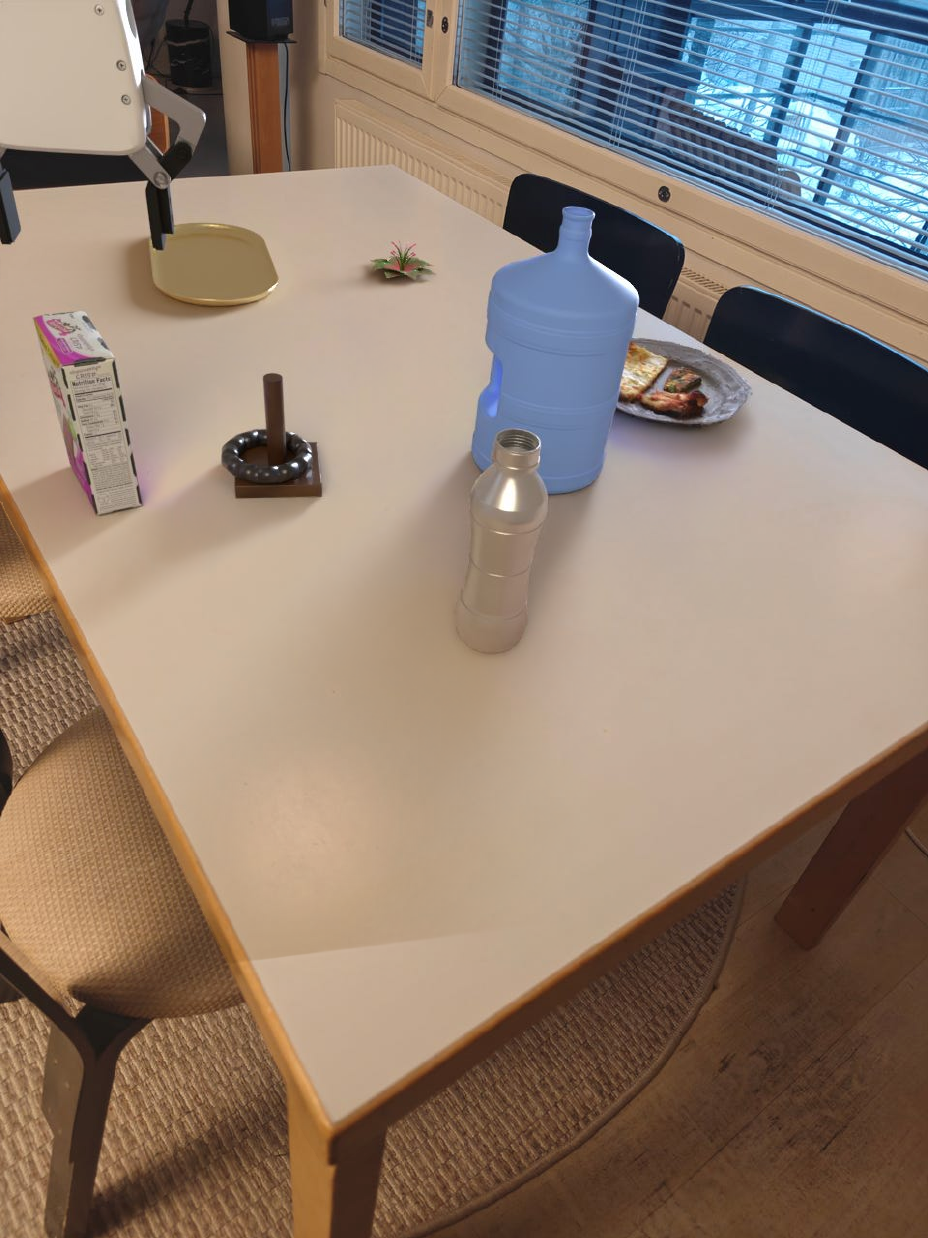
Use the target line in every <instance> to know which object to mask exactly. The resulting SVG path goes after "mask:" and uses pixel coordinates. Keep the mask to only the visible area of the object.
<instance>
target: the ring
mask: <svg viewBox="0 0 928 1238" xmlns="http://www.w3.org/2000/svg"><path fill="white" fill-rule="evenodd" d="M285 435H286V448H287V449H290V450H291V451H292V452H294V453H295V454H296V457H295V458H294V459H293V460H292V461H290V462H287V463H284V464H281V465H278V466H256V465H253V464H249V463H245V462H243V461H242V460H241V459H240V458H239V455H240V454H241V453H242V452H243V451H244V450H246V449H250V448H253V447H256V446H267V438H266V428H256V429H251V430H249V431H248V430H247V431H245V432H241V433H238V434H235V435H234V436H233V437H232V438H230V439H229V440H228V441H227V442H225V443H224V445H223V446H221V458H220V459H221V460H220V462H221V465H222V467H223V468H224V469H225V470H226V471H228V472H229V473H230V475H232V476H233V477H234V478H235V477H236V478H239V479H242V480H246V481H249V482H253V483H257V484H265V483H282V482H285V481H288V480H291V479H294V478H297V477H300V476H301V475H302V474H303V473H304V472H305V471H306V470H307V469H308V468H309V467H310V466H311V465H312V463H313V456H312V448H311V446H310V445H309V444H308V443H307V442H308V441H306V440H305V439H304V438H302V437H301V436H300V435H299V434H296V433H293V432H290V431H286V430H285Z"/></svg>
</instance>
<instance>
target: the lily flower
mask: <svg viewBox="0 0 928 1238" xmlns="http://www.w3.org/2000/svg"><path fill="white" fill-rule="evenodd" d="M390 243H391V244H393V245H394V247H395V248H396V249H397V252H398V253H397V252H396V251H395V250H392V251H390V254H391V255H393V256H388V257H389V258H391V259H390V260H389V261H387V258H386V259H385V258H376V259H369V261H370V262H372V263H374V266H372V268H371V269H370V271H374V270H380V269H385V270H383V273H384V275H385V276H386V277H385V278H386V279H390V278H393V277H399V276H405V275H406V276H407V277H409V278H411V279H412V280H414V281H416V279H417V276H418V275H429V276H437V274H436V273H435V272H433V270H431V269H430V268H424V267H426V266H427V267H434V265H433V264H431V263H428V262H427V261H425V260H422V259H420V258H418V257H416V255H417V254H416V253H415V252H413V251H412V252H411V253H410V254H409V255H408V253H409V251H410V250H411V249H413V247H415V246H416V245H417V243H414V244H412V245H410V246H409V247H407V246H408V244H409V243H410V240H407V244H406V246H405V249H404V251H403V248H402V244H401V241H400V240H398V243H399V245H400V246H398V245H397V244H395V242H394V241H391V242H390ZM399 256H400V257H399ZM406 259H407V260H406ZM384 263H385V264H384ZM420 266H421V267H420ZM388 268H389V269H388ZM415 270H416V271H415ZM405 272H406V273H405Z"/></svg>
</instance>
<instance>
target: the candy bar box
mask: <svg viewBox="0 0 928 1238" xmlns="http://www.w3.org/2000/svg"><path fill="white" fill-rule="evenodd" d="M32 321H33V323H34V327H35V331H36V335H37V339H38V344H39V348H40V352H41V355H42V361H43V363H44V368H45V372H46V375H47V379H48V383H49V387H50V391H51V395H52V399H53V403H54V407H55V410H56V411H55V412H56V414H57V419H58V422H59V426H60V430H61V434H62V438H63V442H64V446H65V448H66V449H65V450H66V455H67V457H68V463H69V465H70V467H71V469H72V470H73V473H74V475H75V477H76V479H77V480H78V483H79V484H80V486H81V488H82V490H83V492H84V494H85V496H86V498H87V500H88V502H89V504H90V505H91V508H92V510H93V511H94V514H95V516H97V517H98V516H106V515H110V514H114V513H119V512H123V511H126V510H130V509H131V510H132V509H135V508H140V507H143V506H144V504H143V499H142V494H141V489H140V483H139V477H138V473H137V468H136V463H135V457H134V453H133V446H132V442H131V437H130V431H129V427H128V421H127V416H126V411H125V406H124V399H123V396H122V390H121V386H120V381H119V376H118V375H119V374H118V369H117V364H116V357H115V355H114V354H113V353H112V352H111V350H110V348H109V347H108V345H107V344H106V342H105V340H104V339H103V337H102V336H101V335H100V333H99V331H98V330H97V329H96V327H95V326H94V324H93V322H92V321H91V319H90V318H89V316H88V315H87V314H86V312H85V311H84V310H76V311H68V312H58V313H52V314H49V313H48V314H47V313H45V314H40V315H37V316H33V317H32Z"/></svg>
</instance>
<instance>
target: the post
mask: <svg viewBox="0 0 928 1238" xmlns="http://www.w3.org/2000/svg"><path fill="white" fill-rule="evenodd" d="M262 388H263V389H262V390H263V404H264V405H263V406H264V407H263V408H264V421H265V422H264V423H265V429H266V438H267V446H256V447H253V448H250V449H246V450H244V451H243V452H242V453H241V454H240V455H239V458H240V459H241V460H242V461H243V462H245V463H249V464H253V465H256V466H278V465H281V464H284V463H287V462H290V461H292V460H293V459H294V458H295V457H296V454H295V453H294V452H292V451H291V450H290V449H287V448H286V435H285V431H286V416H285V396H284V395H285V394H284V377H283V375H282V374H280V373H275V372H269V373H266V374H264V375H262ZM306 442H307V443H308V444H309V445H310V446H311V448H312V456H313V463H312V465H311V466H310V467H309V468H308V469H307V470H306V471H305V472H304V473H303V474H302V475H301V476H300V477H297V478H294V479H291V480H288V481H285V482H282V483H265V484H257V483H253V482H249V481H246V480H242V479H239V478H236V477H235V476H234V479H233V480H234V481H233V483H234V484H233V487H234V488H233V489H234V498H235V499H261V498H262V499H264V498H265V499H268V498H269V499H273V498H274V499H275V498H317V497H318V498H319V497H320V498H321V497H323V490H322V489H323V486H322V485H323V483H322V477H321V466H320V457H319V447H318V442H317V441H311V442H310V441H306Z"/></svg>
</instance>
